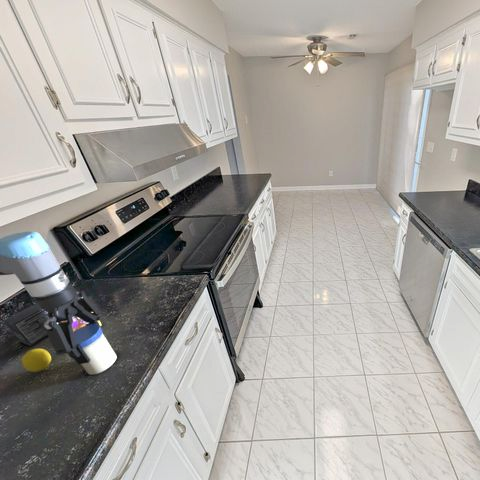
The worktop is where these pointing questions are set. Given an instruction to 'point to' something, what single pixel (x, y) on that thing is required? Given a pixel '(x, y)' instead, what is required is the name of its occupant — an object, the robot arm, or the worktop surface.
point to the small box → (28, 324)
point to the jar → (99, 356)
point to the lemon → (36, 360)
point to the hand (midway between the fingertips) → (93, 349)
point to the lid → (87, 334)
